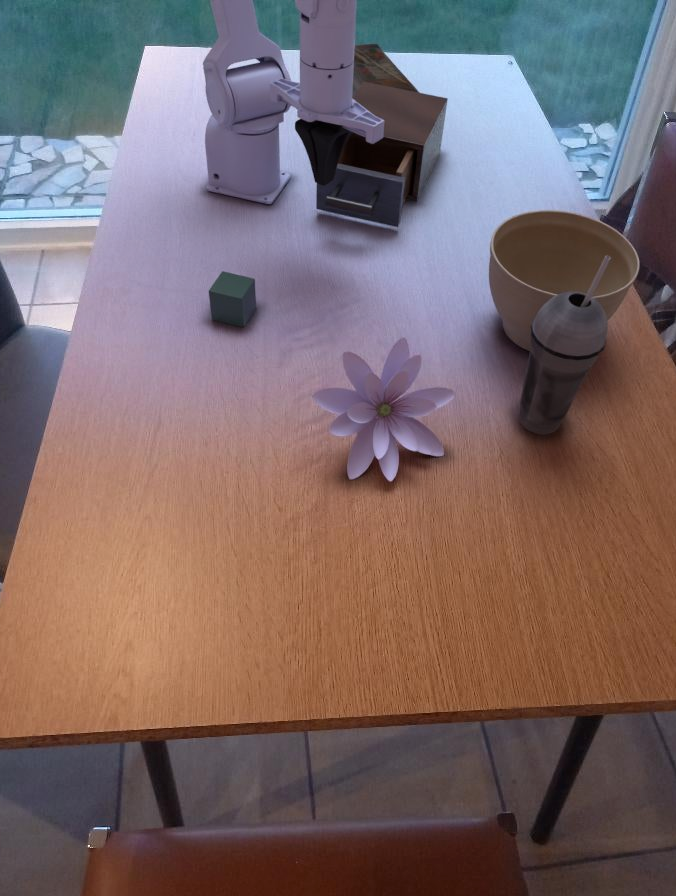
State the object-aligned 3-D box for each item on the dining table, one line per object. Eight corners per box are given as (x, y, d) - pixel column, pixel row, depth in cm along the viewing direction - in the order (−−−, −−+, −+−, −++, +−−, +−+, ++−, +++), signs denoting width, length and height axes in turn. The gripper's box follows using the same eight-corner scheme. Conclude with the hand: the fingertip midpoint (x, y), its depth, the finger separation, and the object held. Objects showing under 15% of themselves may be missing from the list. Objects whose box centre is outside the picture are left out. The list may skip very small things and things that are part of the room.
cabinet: (416, 202, 108) (424, 145, 101) (331, 183, 109) (332, 126, 103) (440, 153, 117) (447, 98, 110) (360, 136, 118) (363, 81, 112)
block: (211, 319, 90) (208, 290, 86) (225, 299, 92) (222, 270, 89) (244, 327, 89) (241, 298, 86) (256, 307, 91) (254, 278, 88)
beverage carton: (376, 80, 130) (379, 37, 125) (419, 135, 120) (424, 90, 115) (331, 84, 128) (332, 40, 123) (371, 140, 118) (374, 95, 113)
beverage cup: (499, 395, 85) (545, 232, 69) (564, 395, 86) (623, 233, 70) (512, 444, 80) (564, 282, 65) (580, 443, 81) (647, 282, 65)
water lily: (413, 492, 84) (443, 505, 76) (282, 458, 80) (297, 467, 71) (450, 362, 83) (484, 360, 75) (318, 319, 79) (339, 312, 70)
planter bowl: (464, 288, 96) (480, 207, 88) (589, 289, 98) (617, 210, 89) (485, 376, 87) (505, 295, 78) (624, 376, 88) (658, 297, 80)
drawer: (388, 246, 99) (393, 201, 94) (304, 227, 101) (304, 181, 96) (422, 177, 110) (427, 133, 105) (345, 161, 112) (347, 117, 107)
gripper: (249, 48, 81) (255, 171, 92) (359, 92, 77) (352, 217, 88) (292, 29, 85) (293, 150, 96) (399, 70, 81) (388, 192, 91)
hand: (324, 180), depth 92 cm, fingers closed
